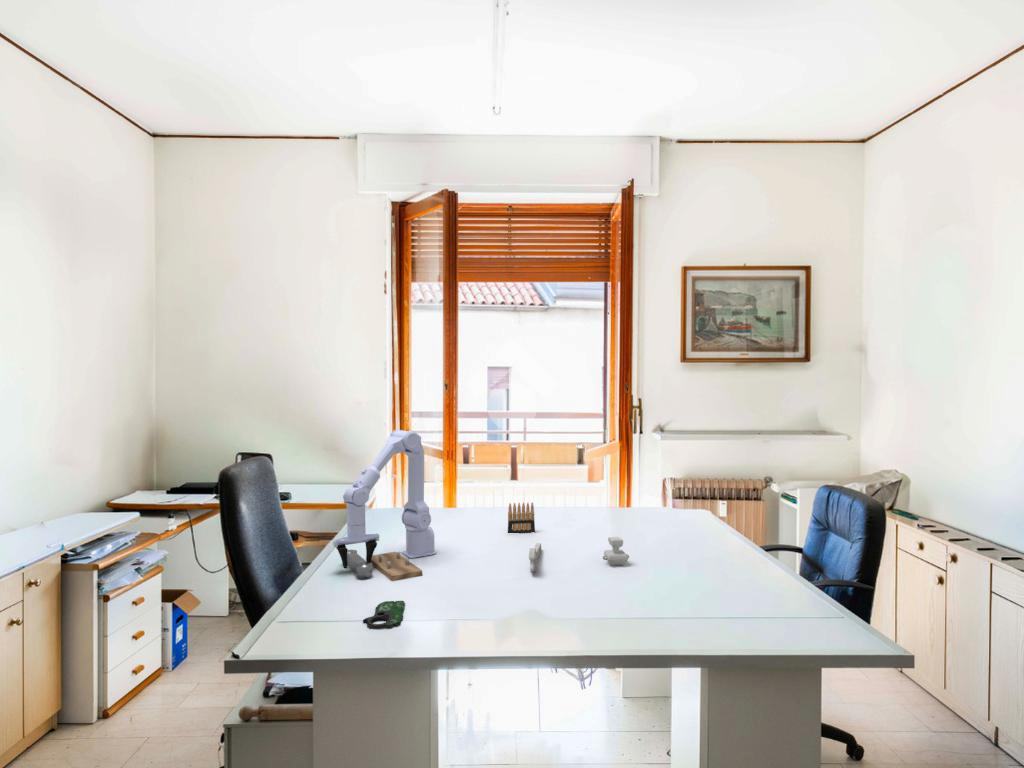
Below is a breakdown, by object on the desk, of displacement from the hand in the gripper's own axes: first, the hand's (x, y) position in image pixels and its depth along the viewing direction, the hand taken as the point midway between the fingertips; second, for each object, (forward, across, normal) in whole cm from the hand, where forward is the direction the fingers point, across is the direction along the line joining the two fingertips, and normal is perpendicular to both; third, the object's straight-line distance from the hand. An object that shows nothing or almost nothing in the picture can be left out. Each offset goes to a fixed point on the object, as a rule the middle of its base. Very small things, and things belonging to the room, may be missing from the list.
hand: (356, 565), depth 202 cm
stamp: (+2, -75, +39) cm, 85 cm away
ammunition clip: (+2, -69, -11) cm, 70 cm away
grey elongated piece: (+2, 0, 0) cm, 2 cm away
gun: (+2, +5, +41) cm, 41 cm away
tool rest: (+1, -11, +4) cm, 12 cm away
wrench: (+2, -53, +24) cm, 58 cm away
